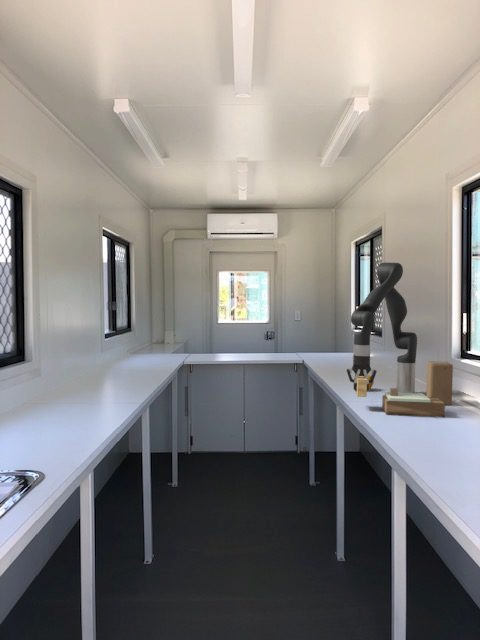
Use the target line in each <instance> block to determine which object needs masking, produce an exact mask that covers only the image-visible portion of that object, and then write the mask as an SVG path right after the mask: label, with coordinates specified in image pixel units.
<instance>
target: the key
mask: <svg viewBox="0 0 480 640" xmlns="http://www.w3.org/2000/svg"><path fill="white" fill-rule="evenodd" d="M367 392H368V391H367V379H366V378H365V377H363V376H359V377H358V378H357V391H355V394H356V397H357V398H358V397H359V398H367V396H368V394H367Z"/></svg>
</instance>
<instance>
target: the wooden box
mask: <svg viewBox="0 0 480 640" xmlns="http://www.w3.org/2000/svg"><path fill="white" fill-rule="evenodd" d="M428 398H429V399H430V402H405V401H389V400H388V398H387V397H386V396H385V394H384V395H382V399H381V400H382V402H381V403H382V405H381V407H382V410H383V412H384V413H385V415H387V416H403V417H404V416H407V417H428V418H429V417H430V418H445V415H446V414H445V409H446V405H445V403H443V402H442V401H441V400H440V399H438V398H437V397H428Z"/></svg>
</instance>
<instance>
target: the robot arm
mask: <svg viewBox="0 0 480 640" xmlns="http://www.w3.org/2000/svg"><path fill="white" fill-rule="evenodd" d="M403 269H404V268H403V265H402V264H401V263H399V262H380V263H379V264H378V265H377V267H376V273H377V274H376V275H377V276H376V277H377V278H378V279H377V280H378V282H379V285H378V286H376V287H375V288H374V289H372V290H371V291H370V292H369V293H368V295H366V297H365V299H364V301H363V303H361V304H360V305H359V306H358V307H356V309H354V310H353V312H352V314H351V315H350V322H351V323H350V324H352V325H353V326H354V327H362V328H361V330H360V331H356V332H354V337H353V351H352V353H353V355H352V361H353V362H352V367H351V368H346V373H347V376H348V378H349V379H348V380H349V381H350V383H353V390H354V391H355V392H356V391H357V378H358V377H359V376H363V377H365V378H366V379H367V392H368V391H369V383H372V382H373V380H375V378H376V374H377V370H376V369H373V368H371V335H372V330H373V327H374V324H375V316H374V313H376V312H377V310H378V309H379V307H380V305H381V304H382V302H383V300H385V304H386V309H387V313H388V317H389V320H390V325H391V329H392V336H393V342H394V345H395V348H396V349H399V350H407V352H406V353H405V354H401V355H399V356H397V358H396V388H397V389H398V393H416V363H417V362H416V361H417V360H416V359H417V349H418V348H417V347H418V335H417V333H415V332H413V331H412V332H409V331H402V328H401V327H402V324H403V322H404V321H405V319H406V317H407V316H408V315H407V314H408V308H407V304H406V303H407V302H406V300H405V298H404V297H403V295H401V293H400V292H399V291H398V290H397V289H396V287H395V286H396V285H397V284H398V282H399V281H400V280H401V279H402V276H403V275H404V274H403V273H404V270H403ZM352 371H353V374H355V375H354V378H352V375H351V374H352ZM369 373H371V375H370V376H371V378H370V380H368V376H367V375H369Z"/></svg>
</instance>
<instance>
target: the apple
mask: <svg viewBox="0 0 480 640" xmlns="http://www.w3.org/2000/svg"><path fill="white" fill-rule="evenodd" d="M367 376H368V380H370V378H371V375H370V374H367ZM374 380H375V379H374ZM374 380H373V382H372V383H369V390H371V388H372V387H373V386H374V383H375V382H374ZM369 390H368V391H369Z"/></svg>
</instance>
